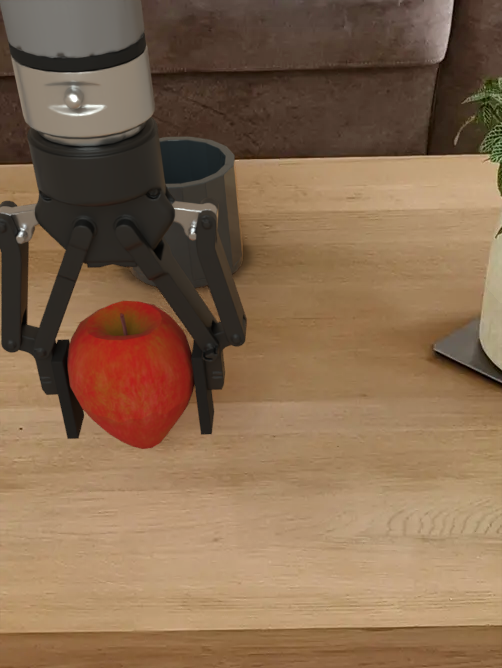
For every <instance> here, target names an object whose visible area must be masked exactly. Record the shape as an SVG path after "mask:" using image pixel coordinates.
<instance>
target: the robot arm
mask: <svg viewBox="0 0 502 668" xmlns="http://www.w3.org/2000/svg"><path fill="white" fill-rule="evenodd" d="M0 11H1V15H2V20H3V25H4V28H5V34H6V38H7V42H8V48H9V49H8V50H9V54H10V59H11V64H12V69H13V75H14V78H15V82H16V87H17V92H18V96H19V102H20V106H21V111H22V117H23V119H24V122H25V123H26V124H27V125H28V126H29V127H30V128H29V129H28V130H27V134H26V135H27V136H26V138H27V141H28V142H27V143H28V147H29V152H30V153H29V154H30V156H31V157H30V158H31V162H32V165H33V166H32V167H33V171H34V177H35V181H36V186H37V187H36V188H37V190H38V198H37V202H36V203H29V204H24V205H17V204H16V203H15V202H14V201H11V200H4V201H2V202H1V203H0V253H1V257H0V258H1V259H0V260H1V262H0V264H1V265H0V266H1V267H0V268H1V270H0V271H1V273H0V274H1V275H0V276H1V279H0V282H1V284H0V287H1V291H0V293H1V294H0V295H1V297H0V299H1V300H0V304H1V305H0V306H1V308H0V310H1V311H0V314H1V315H0V316H1V317H0V319H1V320H0V322H1V323H0V333H1V334H0V345H1V348H2V349H3V350H4V351H5V352H7V353H11V354H12V353H13V354H15V353H17V352H19V351H21V352H25V353H28V354H29V355H31V356H32V357H33V358H34V361H35V365H36V369H37V373H38V377H39V382H40V387H41V390H42V392H43V393H44V394H45V395H46V396H51V395H52V396H55V395H57V397H58V401H59V406H60V411H61V414H62V420H63V424H64V430H65V433H66V437H67V440H77V439H80V435H81V430H82V428H83V427H82V426H83V422H84V419H85V411H84V410H83V409H82V407H81V405H80V403H79V402H78V400H77V398H76V396H75V394H74V393H73V391H72V389H71V387H70V383H69V375H68V367H67V357H68V351H69V345H70V339H68V338H67V339H57V337H58V334H59V332H60V329H61V325H62V322H63V320H64V317H65V314H66V312H67V309H68V305H69V303H70V300H71V299H72V298H71V297H72V294H73V292H74V289H75V286H76V283H77V281H78V279H79V276H80V273H81V270H82V268H83V264H85V265H86V266H87V267H86V268H88V269H91V268H93V269H95V268H99V269H100V268H103V267H108V266H112V265H113V266H118V267H123V268H129V267H137V266H139V268H140V269H141V271H142V272H143V273H144V275H145V276H146V278H147V279H148V280H152V281H153V282H154V284H155V285H156V286H155V287H156V288H157V290H158V292H159V293H161V295H162V297H163V298H164V300H165V301H166V302H167V304H168V306H169V307H170V308H171V310H172V311H173V312H174V314H175V316H176V317H177V318H178V320H179V321H180V322H181V324H182V325H183V326H184V328H185V329H186V331H187V332H188V334H189V335H190V336H191V338H192V339H193V343H192V349H191V353H192V356H191V361H192V368H193V376H194V384H195V385H194V390H195V391H194V392H195V398H196V407H197V414H198V422H199V429H200V435H201V436H203V435H213V426H214V418H215V406H214V398H213V397H214V396H213V391H219V390H220V391H221V390H223V388H224V385H225V377H226V367H225V358H224V349H225V348H228V347H231V346H232V347H237V348H238V347H241V346H243V345H244V344H245V343H246V336H247V327H248V326H247V324H248V319H247V316H246V312H245V310H244V309H245V308H244V306H243V303H242V300H241V297H240V294H239V291H238V287H237V285H236V282H235V279H234V276H233V274H232V273H231V270H230V267H229V264H228V261H227V258H226V255H225V252H224V249H223V246H222V243H221V240H220V237H219V234H218V231H217V228H218V213H219V205H218V202H217V201H216V200H215V199H213V198H205V199H203V200H202V201H201V202H200V204H195V203H187V202H178V201H175V199H174V197H173V196H172V194H171V193H170V192H169V190H168V189H167V187H166V184H165V180H164V172H163V164H162V157H161V149H160V141H159V138H160V135H159V127H158V123H157V122H156V120H155V118H154V117H152V116H153V114H154V113H155V111H156V103H155V94H154V88H153V79H152V73H151V71H152V70H151V65H150V64H151V63H150V56H149V50H148V49H149V48H148V44H147V41H146V34H145V30H146V29H145V23H144V22H145V21H144V13H143V5H142V0H0ZM173 222H177V223H179V224H180V225H181V226H182V227H183V229H184V232H185V235H186V236H187V237H188V238H189V239H190V240H196V249H197V254H198V258H199V261H200V264H201V267H202V269H203V272H204V275H205V278H206V281H207V284H208V285H207V286H208V289H209V292H210V295H211V298H212V300H213V303H214V306H215V309H216V312H217V315H218V318H219V320H220V321H218V320H217V318H216V317H215V316H214V314H213V313H212V311H211V310H210V308H209V306H208V305H207V303H206V302H205V301H204V300H203V298H202V297H201V295H200V294H199V292H198V291H197V288H194V286H193V285H192V283H191V282H190V280H189V279H188V277H187V276H186V275H185V273H184V272H183V270H182V269H181V267H180V266H179V264H178V263H177V261H176V260H175V258H174V257H173V255H172V253H171V249H170V247H169V245H168V243H167V242H166V240H165V239H164V237H163V236H164V235H165V233H166V232H167V230H168V229H169V228H170V226H171V225H172V223H173ZM38 225H39V226H40V227H41V228H42V230H44V231H45V232H46V233H47V234H48V235H49V237H52V239H53V240H55V242H57V244H58V245H60V246H61V247H62V248H63V249H64V254H63V256H62V260H61V262H60V265H59V268H58V271H57V274H56V277H55V280H54V283H53V286H52V289H51V292H50V294H49V297H48V300H47V303H46V306H45V309H44V312H43V315H42V317H41V321H40V323H39V326H35V325H31V324H28V317H29V316H28V314H29V313H28V312H29V311H28V309H29V256H30V255H29V249H30V242H31V240H32V239H33V236H34V234H35V230H36V226H38ZM56 339H57V340H56Z"/></svg>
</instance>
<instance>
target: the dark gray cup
mask: <svg viewBox="0 0 502 668" xmlns="http://www.w3.org/2000/svg"><path fill="white" fill-rule="evenodd" d="M159 141H160V149H161V157H162V164H163V172H164V180H165V184H166V187H167V189H168V190H169V192H170V193H171V194H172V196H173V197H174V199H175V201H178V202H187V203H195V204H200V202H201V201H202V200H203V199H205V198H213V199H215V200H216V201H217V202H218V205H219V213H218V228H217V231H218V234H219V237H220V240H221V243H222V246H223V249H224V252H225V255H226V258H227V261H228V264H229V267H230V270H231V273H232V275H234V274H235V273H236V272H237V271H238V270H239V269H240V268H241V266H242V264H243V261H244V242H243V233H242V232H243V231H242V230H243V229H242V220H241V209H240V199H239V198H240V197H239V187H238V179H237V178H238V176H237V165H236V156H235V154H234V153H233V152H232V150H231V149H230V148H229V147H228V146H227V145H225V144H222V143H220V142H217V141H215V140H213V139H209V138H208V139H207V138H203V137H202V138H201V137H194V136H164V137H159ZM163 237H164V239H165V240H166V242H167V243H168V245H169V247H170V249H171V253H172V255H173V257H174V258H175V260H176V261H177V263H178V264H179V266H180V267H181V269H182V270H183V272H184V273H185V275H186V276H187V277H188V279H189V280H190V282H191V283H192V285H193V286H194V288H195V289H198V288H203V287H207V286H208V284H207V281H206V278H205V275H204V272H203V269H202V267H201V264H200V261H199V258H198V254H197V249H196V240H190V239H189V238H188V237H187V236H186V235H185V232H184V229H183V227H182V226H181V225H180V224H179V223H177V222H173V223H172V225H171V226H170V228H169V229H168V230H167V232H166V233H165V235H164V236H163ZM128 270H129V271H130V273H131V274H132V276H134V277H135V278H136V279H137V280H139V281H140V282H142V283H144V284H146V285H150V286H153V287H156V285H155V284H154V282H153V281H152V280H148V279H147V278H146V276H145V275H144V273H143V272H142V271H141V269H140V268H139V266H137V267H128Z"/></svg>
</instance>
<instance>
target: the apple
mask: <svg viewBox="0 0 502 668" xmlns="http://www.w3.org/2000/svg"><path fill="white" fill-rule="evenodd" d="M69 342H70V345H69V351H68V357H67V367H68V375H69V383H70V387H71V389H72V391H73V393H74V394H75V396H76V398H77V400H78V402H79V403H80V405H81V407H82V409H83V411H84V413H85V414H86V415H87V416H88V417H89V418H90V419H91V420H92V421H93V422H94V423H95V424H96V425H98V426H99V427H100V428H101V429H103V430H104V431H105V432H106V433H107V434H109V435H110V436H111V437H113V438H115V439H116V440H118V441H119V442H122V443H123V444H126V445H128V446H131V447H133V448H137V449H141V450H147V449H153V448H155V447H156V446H158V445H160V444H161V443H162V442H163V440H165V438H166V437H167V436H168V434H169V433H170V432H171V431H172V429H173V428H174V426H175V425H176V424H177V422H178V421H179V420H180V418H181V417H182V415H183V414H184V412H185V411H186V410H187V408H188V406H189V404H190V400H191V398H192V395H193V393H194V390H195V384H194V376H193V368H192V361H191V356H192V349H191V347H190V344H189V340H188V337H187V335H186V333H185V332H184V330H183V328H182V326H180V325H179V324H178V323H177V322H176V320H175V319H174V318H173V317H172V316H171V315H170V314H168V313H167V312H166V311H164V310H162V309H161V308H160V307H158V306H156V305H155V304H153V303H148V302H143V301H138V300H136V301H135V300H121V301H118V302H114V303H111V304H109V305H106V306H104V307H102V308H99V309H97V310H95V311H94V312H92V313H91V314H90V315H88V316H87V317H86V318H84V319H82V320H81V321H80V322H79V324H78V325H77V327H76V329H75V331H74V332H73V334H72V336H71V339H70V340H69Z"/></svg>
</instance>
